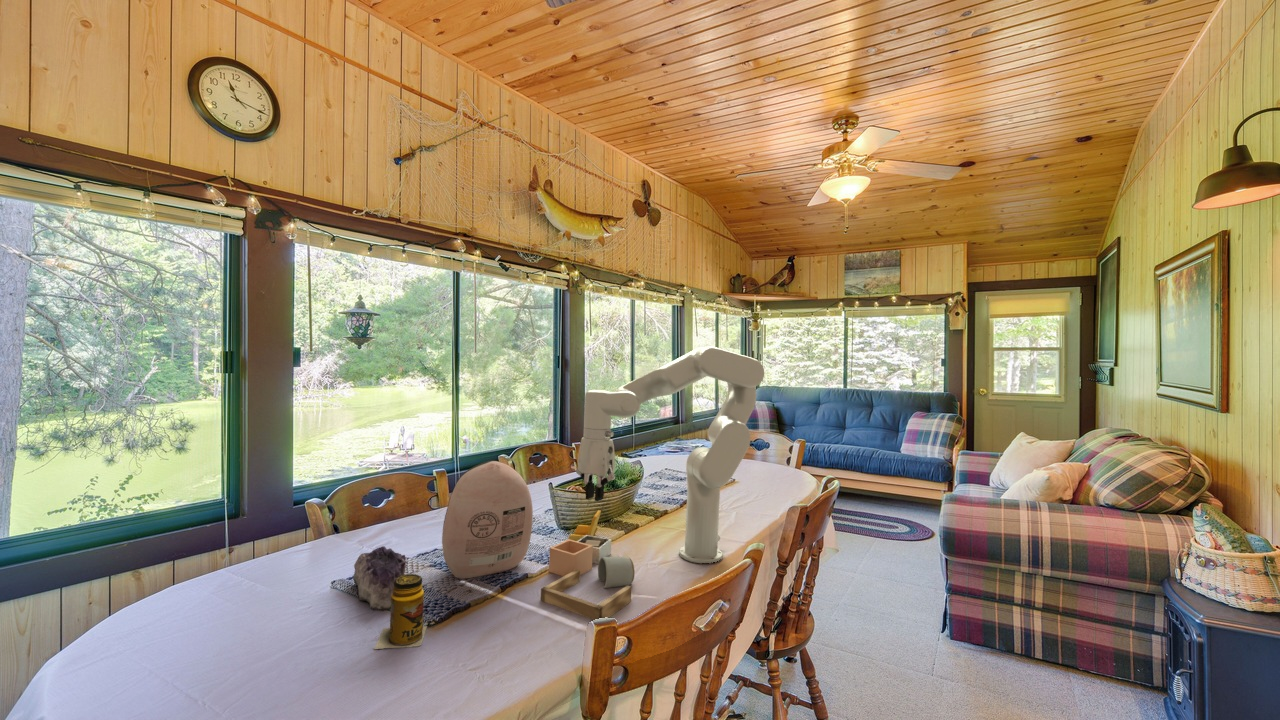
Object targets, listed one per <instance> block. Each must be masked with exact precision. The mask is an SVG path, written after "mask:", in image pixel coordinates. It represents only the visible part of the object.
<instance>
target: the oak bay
mask: <svg viewBox="0 0 1280 720" xmlns="http://www.w3.org/2000/svg"><path fill="white" fill-rule="evenodd" d="M580 577H581V576H580V571H579V570H575V571H573V572H571V573H569V574H567V575H565V576H561V577H560V578H558V579H556V580H554V581H553V582H551V583H549V584H547V585H545V586H543V587H542V588H541V589H540V601H542V602H544V603H546V604H549V605H552V606H554V607H558V608H561V609H563V610H567V611H569V612H572V613H575V614H577V615H580V616H583V617H586V618H588V619H592V620H595V619H599V618H605V617H609V618H610V617H612V616H613V615H614V614H615V613H617V612H618V611H620V610H622V608H624V607H626V605H628V604H629V603H631V602H632V587H633V586H631V585H626V586H623V587H622V588H621V589H620V590H618V591H616V592H615V593H613V595H611V596H609V597H608V598H606V599H605V600H603V601H602V602H601V603H599V604H596V603H593V602H590V601H587V600H584V599H581V598H578V597H576V596H573V595H570V594H567V593H564V591H567V590H568V589H570V588H571V587H573V586H574V585H576V584H578V583H580V580H581V579H580Z"/></svg>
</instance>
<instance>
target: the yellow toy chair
mask: <svg viewBox="0 0 1280 720" xmlns="http://www.w3.org/2000/svg"><path fill="white" fill-rule="evenodd" d="M601 513H602V511H601V510H599V509H598V510H597V512H595V514H594V516H593V517H592V520H591V523H590V524H589V525H587V524H579V525H577V526H576V528H575V531H574V532H573V533H572V534H570V535H569V536H568V538H567V540H568V539H570V540H574V541H578V540H580V539H581V538H582V537H584V536H585V535H590V536H595V535H596V534H597V531H598V529H599V527H598V526H597V525H598V522H599V519H600V517H601Z"/></svg>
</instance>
